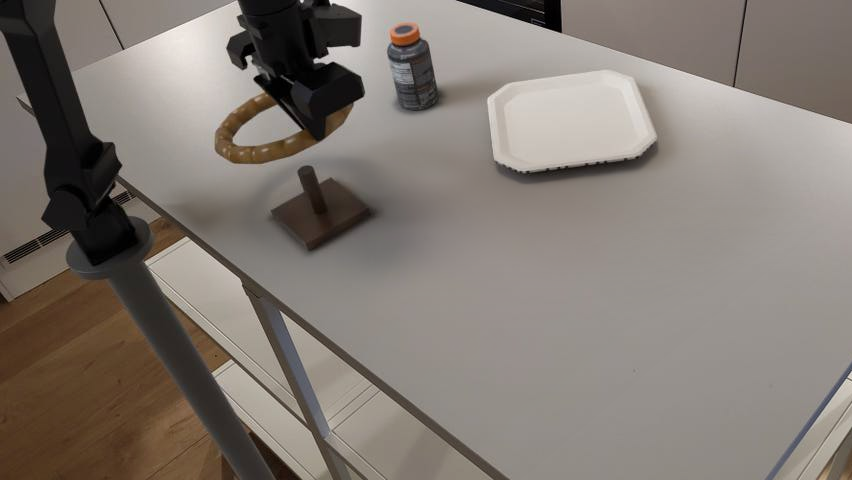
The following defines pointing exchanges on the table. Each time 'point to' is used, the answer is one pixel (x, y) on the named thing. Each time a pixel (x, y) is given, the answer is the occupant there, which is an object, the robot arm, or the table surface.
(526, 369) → the table surface
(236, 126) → the ring
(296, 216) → the wooden peg stand
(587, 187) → the table surface
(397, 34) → the pill bottle
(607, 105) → the plate
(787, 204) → the table surface
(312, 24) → the robot arm
